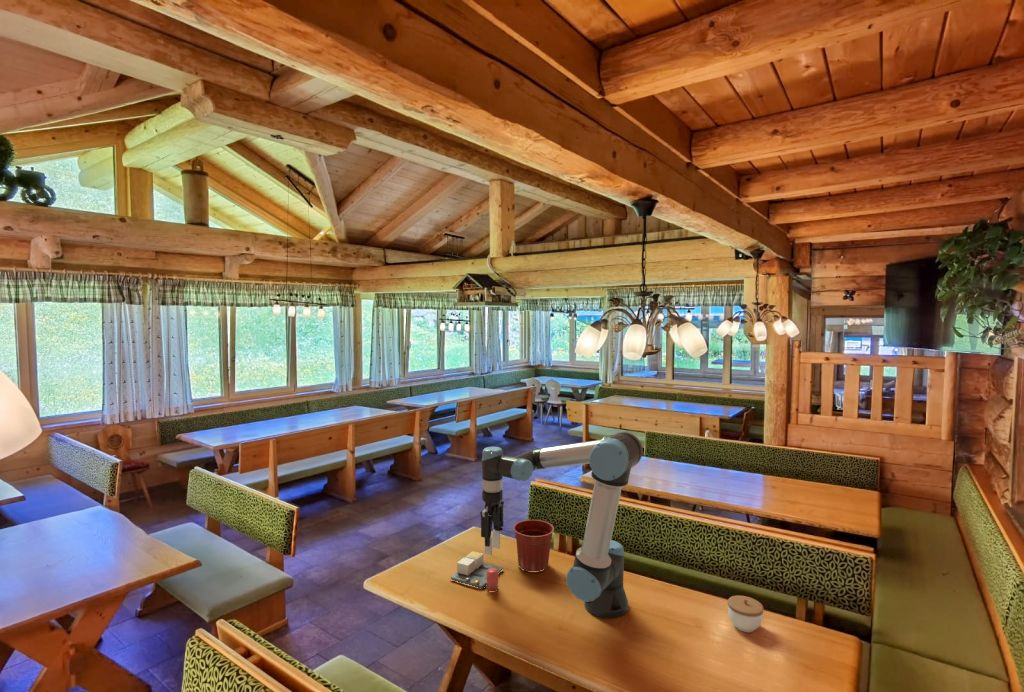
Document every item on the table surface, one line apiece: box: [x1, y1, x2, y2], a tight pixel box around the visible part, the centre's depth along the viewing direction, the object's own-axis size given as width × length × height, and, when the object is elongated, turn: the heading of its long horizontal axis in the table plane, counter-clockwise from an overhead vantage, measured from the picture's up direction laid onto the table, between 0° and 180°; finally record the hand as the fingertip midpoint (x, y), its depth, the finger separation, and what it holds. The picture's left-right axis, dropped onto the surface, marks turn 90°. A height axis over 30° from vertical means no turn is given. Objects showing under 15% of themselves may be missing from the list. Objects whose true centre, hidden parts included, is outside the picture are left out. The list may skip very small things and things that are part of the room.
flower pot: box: [512, 519, 555, 572], centre depth 211 cm, size 16×16×16 cm
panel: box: [450, 561, 504, 589], centre depth 203 cm, size 14×16×2 cm
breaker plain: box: [456, 556, 475, 575], centre depth 203 cm, size 5×5×4 cm
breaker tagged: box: [465, 550, 484, 569], centre depth 208 cm, size 5×5×4 cm
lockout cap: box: [486, 568, 499, 592], centre depth 193 cm, size 4×4×7 cm
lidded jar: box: [727, 595, 764, 633], centre depth 170 cm, size 11×11×9 cm
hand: (492, 550), depth 193 cm, fingers open, 5 cm apart
